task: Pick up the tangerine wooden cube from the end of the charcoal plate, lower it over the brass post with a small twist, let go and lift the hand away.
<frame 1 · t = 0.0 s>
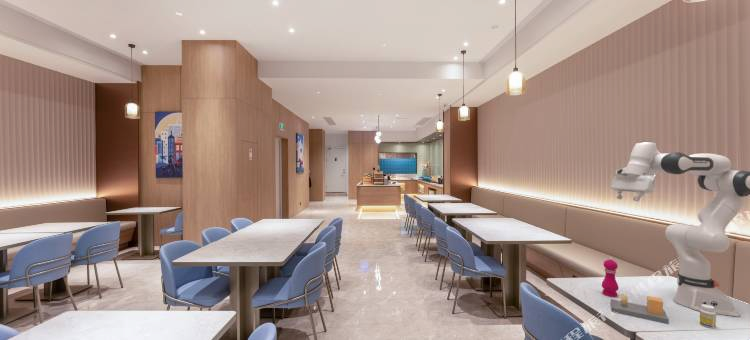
hand: (627, 199, 157), 52 cm above the table, tool tilted 20°, fingers open, 8 cm apart
pepper mill: (609, 295, 172), on the table
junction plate: (637, 312, 151), on the table
supplement bottle: (707, 326, 139), on the table
tangerine wooden cube: (654, 311, 147), point 2 cm above the table, touching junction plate
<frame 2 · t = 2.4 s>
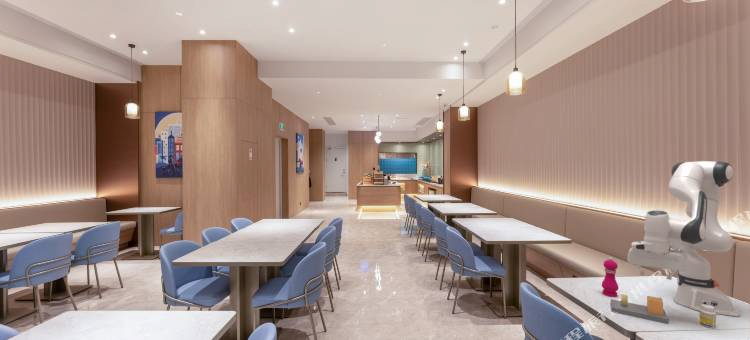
hand: (655, 277, 147), 18 cm above the table, tool pointing down, fingers open, 8 cm apart
nothing on the table moved.
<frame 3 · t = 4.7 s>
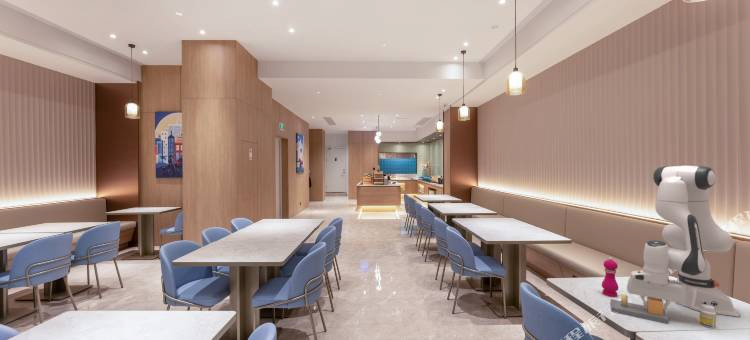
hand: (654, 307, 147), 4 cm above the table, tool pointing down, fingers closed on tangerine wooden cube, 5 cm apart
tangerine wooden cube: (654, 311, 147), point 2 cm above the table, touching gripper
everything else where it was.
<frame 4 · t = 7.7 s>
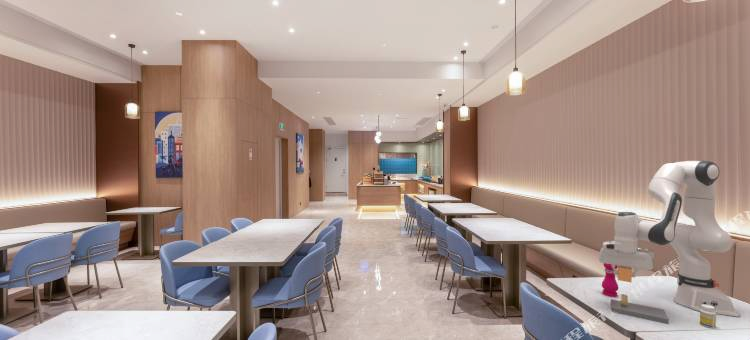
hand: (624, 275, 153), 16 cm above the table, tool pointing down, fingers closed on tangerine wooden cube, 5 cm apart
tangerine wooden cube: (624, 279, 153), point 14 cm above the table, touching gripper
everything else where it was.
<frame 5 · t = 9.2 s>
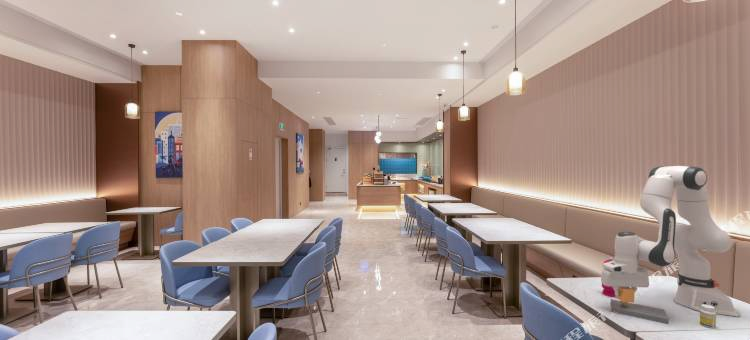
hand: (624, 295, 153), 7 cm above the table, tool pointing down, fingers closed on tangerine wooden cube, 5 cm apart
tangerine wooden cube: (624, 300, 153), point 5 cm above the table, touching gripper
everything else where it was.
when the fingers open (5 cm above the table, at t = 10.8 s): tangerine wooden cube stays where it is, resting on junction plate.
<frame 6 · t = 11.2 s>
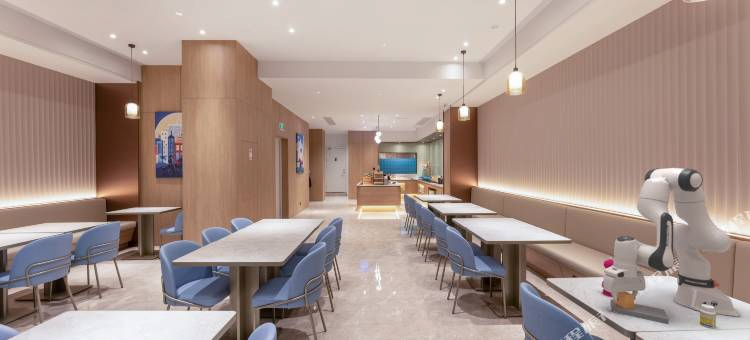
hand: (624, 300, 153), 5 cm above the table, tool pointing down, fingers open, 8 cm apart
tangerine wooden cube: (624, 305, 153), point 2 cm above the table, touching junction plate
everything else where it was.
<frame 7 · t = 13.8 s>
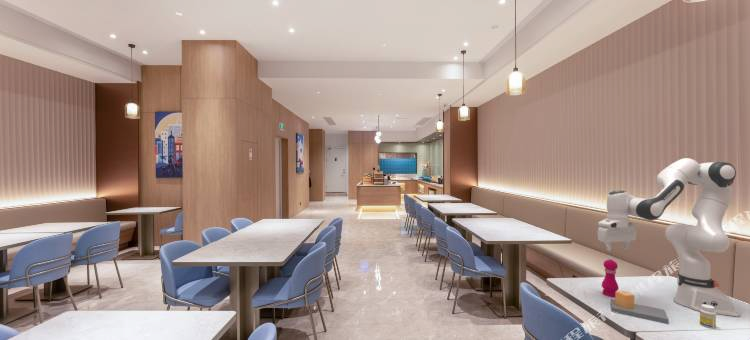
hand: (617, 249, 164), 26 cm above the table, tool pointing down, fingers open, 8 cm apart
nothing on the table moved.
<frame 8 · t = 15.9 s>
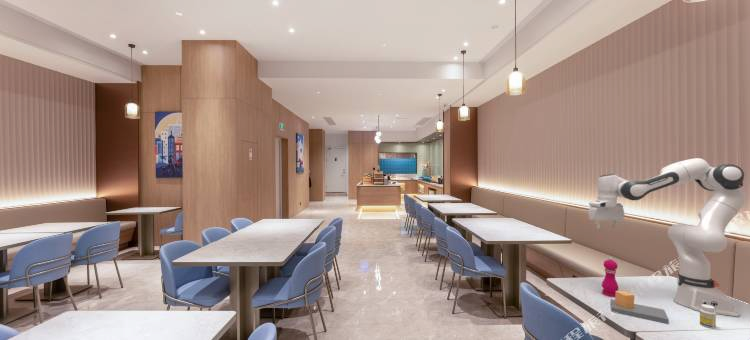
hand: (606, 228, 179), 34 cm above the table, tool pointing down, fingers open, 8 cm apart
nothing on the table moved.
at the end: tangerine wooden cube 0.1 cm from the target spot on the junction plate, point 2.0 cm above the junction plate's base; tangerine wooden cube tilted 0°; the gripper is holding nothing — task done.
